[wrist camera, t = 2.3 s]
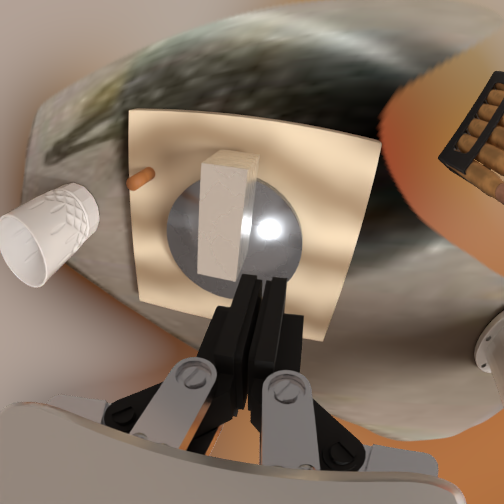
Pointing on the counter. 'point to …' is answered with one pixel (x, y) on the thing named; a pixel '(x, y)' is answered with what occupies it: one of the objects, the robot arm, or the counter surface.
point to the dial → (233, 226)
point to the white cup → (47, 232)
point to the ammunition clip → (481, 141)
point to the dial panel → (269, 170)
